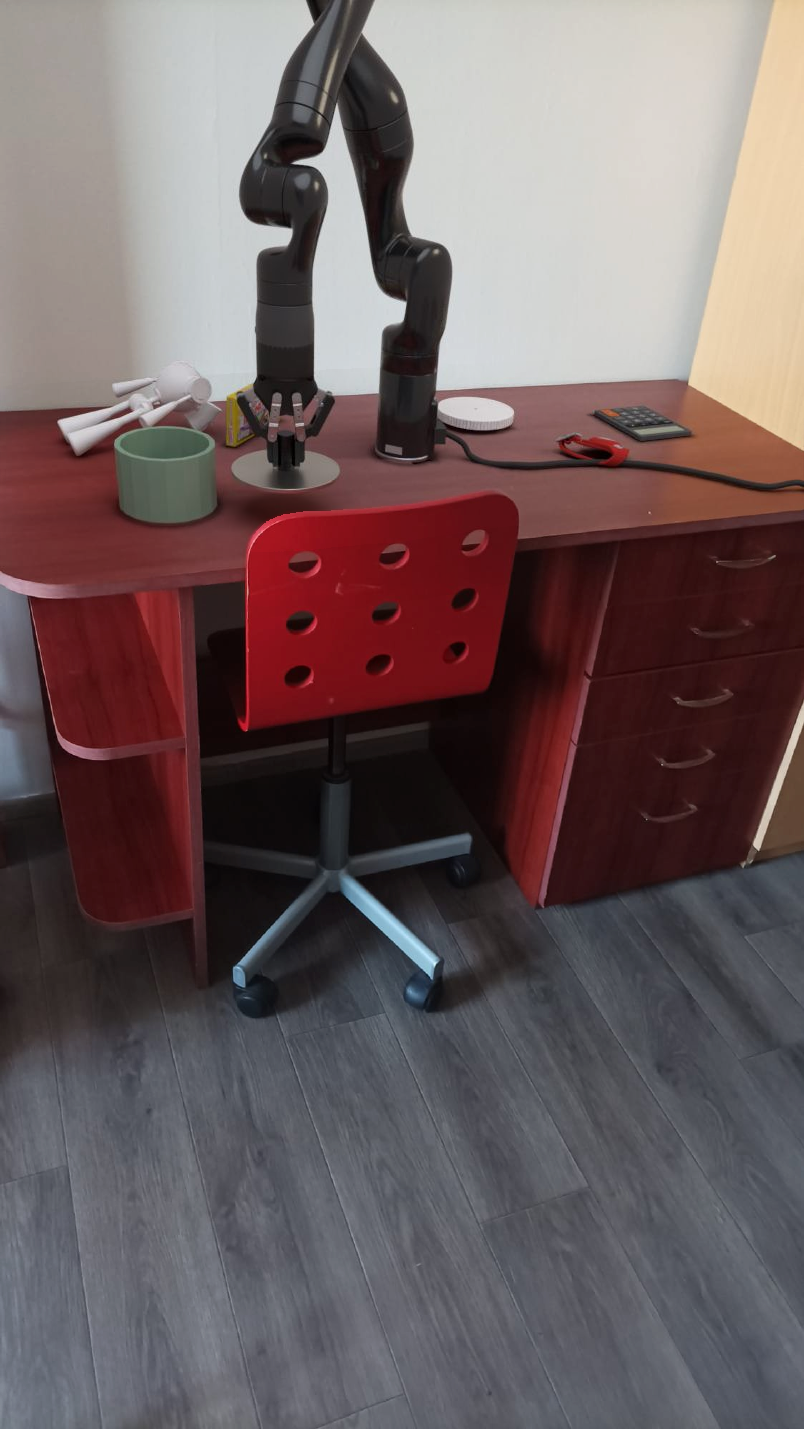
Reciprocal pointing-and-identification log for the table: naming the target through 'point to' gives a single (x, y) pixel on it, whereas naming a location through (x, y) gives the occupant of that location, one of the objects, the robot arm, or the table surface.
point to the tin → (166, 474)
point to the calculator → (642, 423)
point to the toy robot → (146, 406)
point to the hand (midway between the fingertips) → (286, 464)
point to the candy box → (242, 419)
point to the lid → (285, 469)
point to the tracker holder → (597, 443)
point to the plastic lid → (475, 413)
